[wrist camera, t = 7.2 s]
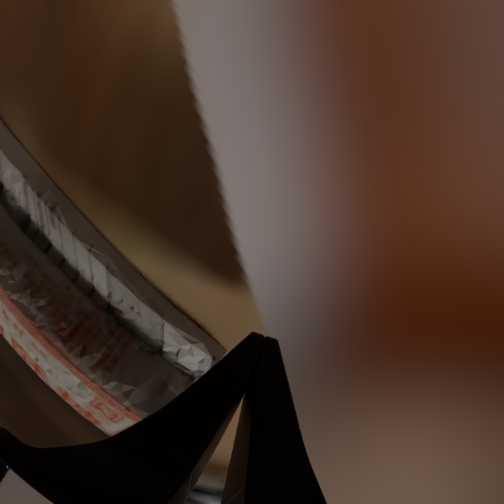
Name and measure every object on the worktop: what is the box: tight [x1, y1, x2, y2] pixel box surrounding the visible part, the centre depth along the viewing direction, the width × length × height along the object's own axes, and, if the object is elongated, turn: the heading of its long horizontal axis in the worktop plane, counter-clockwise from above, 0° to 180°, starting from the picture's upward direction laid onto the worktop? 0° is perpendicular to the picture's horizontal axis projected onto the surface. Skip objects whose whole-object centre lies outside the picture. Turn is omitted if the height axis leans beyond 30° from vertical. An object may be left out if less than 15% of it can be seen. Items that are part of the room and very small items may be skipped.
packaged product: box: [0, 120, 228, 436], centre depth 11 cm, size 18×5×10 cm
